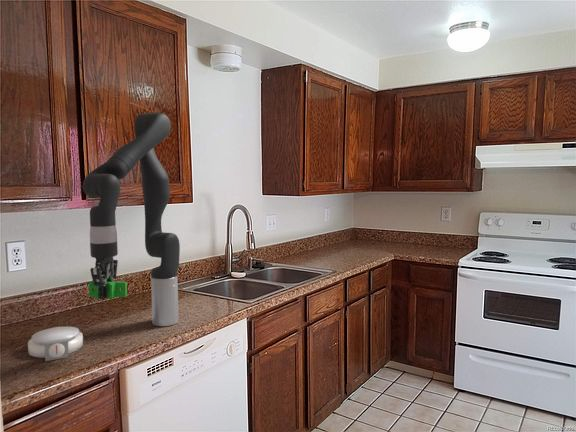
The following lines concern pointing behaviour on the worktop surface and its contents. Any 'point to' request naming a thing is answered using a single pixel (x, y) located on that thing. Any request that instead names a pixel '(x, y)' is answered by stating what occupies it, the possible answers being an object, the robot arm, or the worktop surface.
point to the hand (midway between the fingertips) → (106, 296)
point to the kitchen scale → (55, 343)
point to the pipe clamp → (109, 290)
